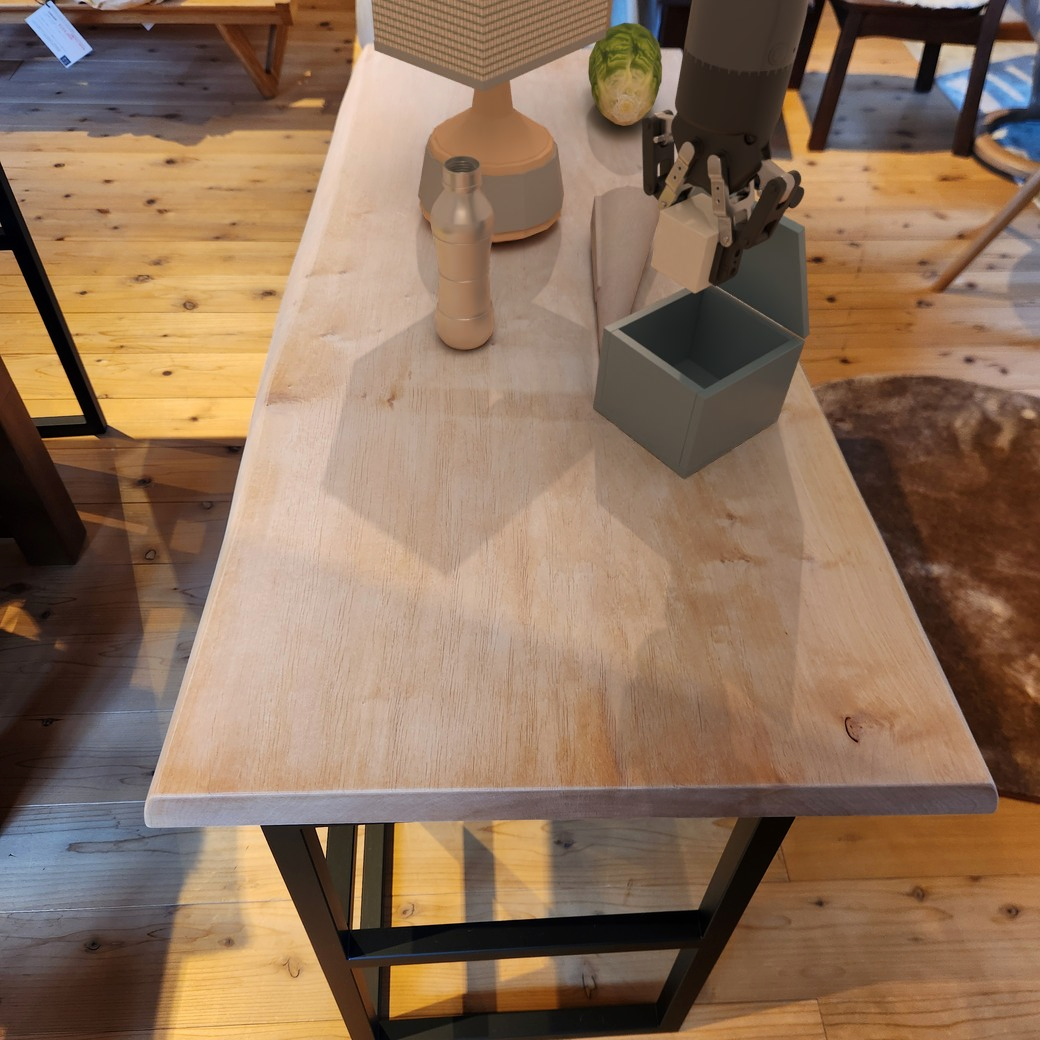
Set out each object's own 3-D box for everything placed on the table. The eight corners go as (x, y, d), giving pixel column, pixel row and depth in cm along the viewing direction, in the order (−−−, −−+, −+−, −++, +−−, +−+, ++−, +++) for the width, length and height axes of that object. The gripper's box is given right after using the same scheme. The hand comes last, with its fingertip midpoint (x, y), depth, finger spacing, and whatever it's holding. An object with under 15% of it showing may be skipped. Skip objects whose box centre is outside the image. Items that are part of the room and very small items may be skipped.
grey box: (684, 479, 81) (705, 399, 74) (592, 407, 88) (603, 327, 80) (778, 420, 87) (805, 340, 80) (685, 357, 94) (703, 278, 86)
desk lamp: (490, 166, 122) (493, -154, 95) (597, 212, 115) (633, -122, 87) (381, 222, 111) (349, -124, 83) (491, 277, 103) (496, -84, 76)
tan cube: (735, 273, 71) (749, 217, 67) (694, 294, 68) (707, 237, 65) (690, 247, 73) (702, 192, 69) (650, 266, 71) (659, 210, 67)
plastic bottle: (505, 334, 96) (510, 160, 81) (471, 365, 92) (469, 188, 77) (459, 314, 98) (455, 142, 83) (423, 344, 94) (412, 168, 79)
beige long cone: (685, 335, 89) (665, 187, 104) (603, 331, 89) (595, 183, 104) (670, 387, 96) (654, 240, 110) (594, 383, 95) (588, 237, 110)
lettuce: (583, 143, 128) (591, 64, 120) (585, 88, 142) (592, 13, 133) (659, 148, 128) (672, 69, 119) (654, 92, 142) (665, 17, 133)
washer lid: (798, 233, 67) (841, 189, 67) (678, 169, 73) (718, 129, 74) (804, 339, 80) (840, 303, 80) (701, 277, 86) (735, 243, 86)
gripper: (861, 66, 56) (790, 290, 69) (699, 3, 63) (661, 216, 76) (790, 94, 52) (729, 323, 65) (627, 23, 59) (600, 243, 72)
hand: (693, 265), depth 70 cm, fingers closed on tan cube, 5 cm apart
